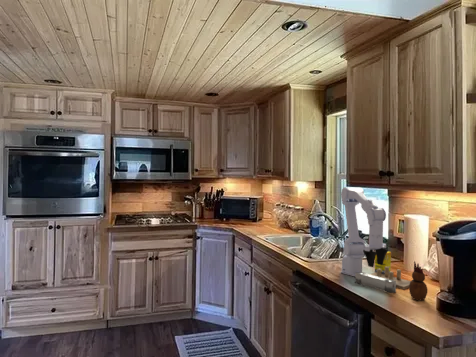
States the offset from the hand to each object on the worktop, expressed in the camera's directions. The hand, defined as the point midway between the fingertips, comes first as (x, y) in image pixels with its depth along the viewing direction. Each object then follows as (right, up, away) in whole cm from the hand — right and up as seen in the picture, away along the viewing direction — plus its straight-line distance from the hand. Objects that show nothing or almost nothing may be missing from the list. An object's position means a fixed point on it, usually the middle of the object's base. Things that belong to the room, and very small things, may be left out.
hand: (375, 265), depth 157 cm
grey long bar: (0, -10, 0) cm, 10 cm away
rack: (+10, -10, +9) cm, 16 cm away
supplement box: (+13, -10, +25) cm, 30 cm away
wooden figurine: (+11, -10, -15) cm, 21 cm away
